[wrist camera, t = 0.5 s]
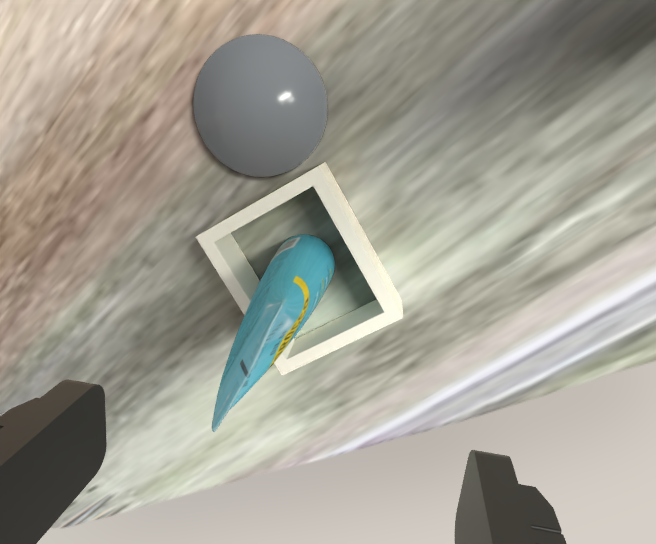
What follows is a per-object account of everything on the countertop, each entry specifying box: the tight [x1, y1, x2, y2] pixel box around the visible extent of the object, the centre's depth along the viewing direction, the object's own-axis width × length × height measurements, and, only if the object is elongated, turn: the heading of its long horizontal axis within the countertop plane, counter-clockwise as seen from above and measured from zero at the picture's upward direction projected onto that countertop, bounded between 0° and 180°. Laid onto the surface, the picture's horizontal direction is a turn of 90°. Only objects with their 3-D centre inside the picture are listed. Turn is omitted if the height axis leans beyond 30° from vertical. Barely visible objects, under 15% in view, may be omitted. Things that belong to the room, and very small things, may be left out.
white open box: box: [196, 162, 403, 375], centre depth 40 cm, size 10×12×4 cm
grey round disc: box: [193, 34, 328, 177], centre depth 39 cm, size 10×10×1 cm
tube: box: [212, 235, 335, 432], centre depth 33 cm, size 7×5×19 cm, turn 157°
